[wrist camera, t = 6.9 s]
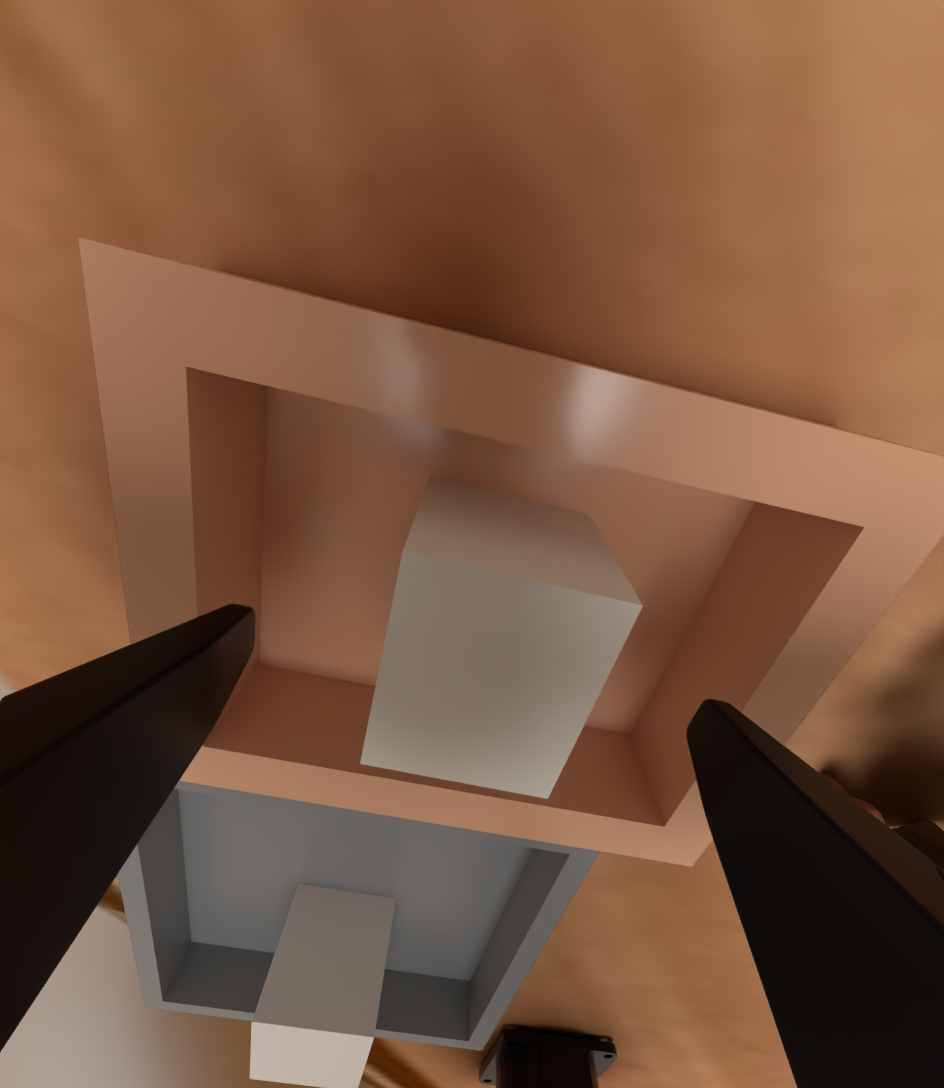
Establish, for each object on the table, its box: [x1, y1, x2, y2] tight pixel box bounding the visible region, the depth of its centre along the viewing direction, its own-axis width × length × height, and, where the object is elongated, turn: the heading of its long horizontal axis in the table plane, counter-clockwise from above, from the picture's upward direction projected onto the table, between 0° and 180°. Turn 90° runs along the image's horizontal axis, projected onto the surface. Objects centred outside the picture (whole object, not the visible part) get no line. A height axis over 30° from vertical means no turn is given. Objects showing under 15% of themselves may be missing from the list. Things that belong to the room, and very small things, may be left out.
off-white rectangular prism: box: [250, 884, 396, 1088], centre depth 17 cm, size 5×4×4 cm
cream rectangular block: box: [360, 476, 643, 799], centre depth 10 cm, size 5×4×4 cm
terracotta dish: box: [78, 237, 944, 867], centre depth 11 cm, size 11×14×4 cm
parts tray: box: [118, 781, 600, 1051], centre depth 17 cm, size 16×15×3 cm
